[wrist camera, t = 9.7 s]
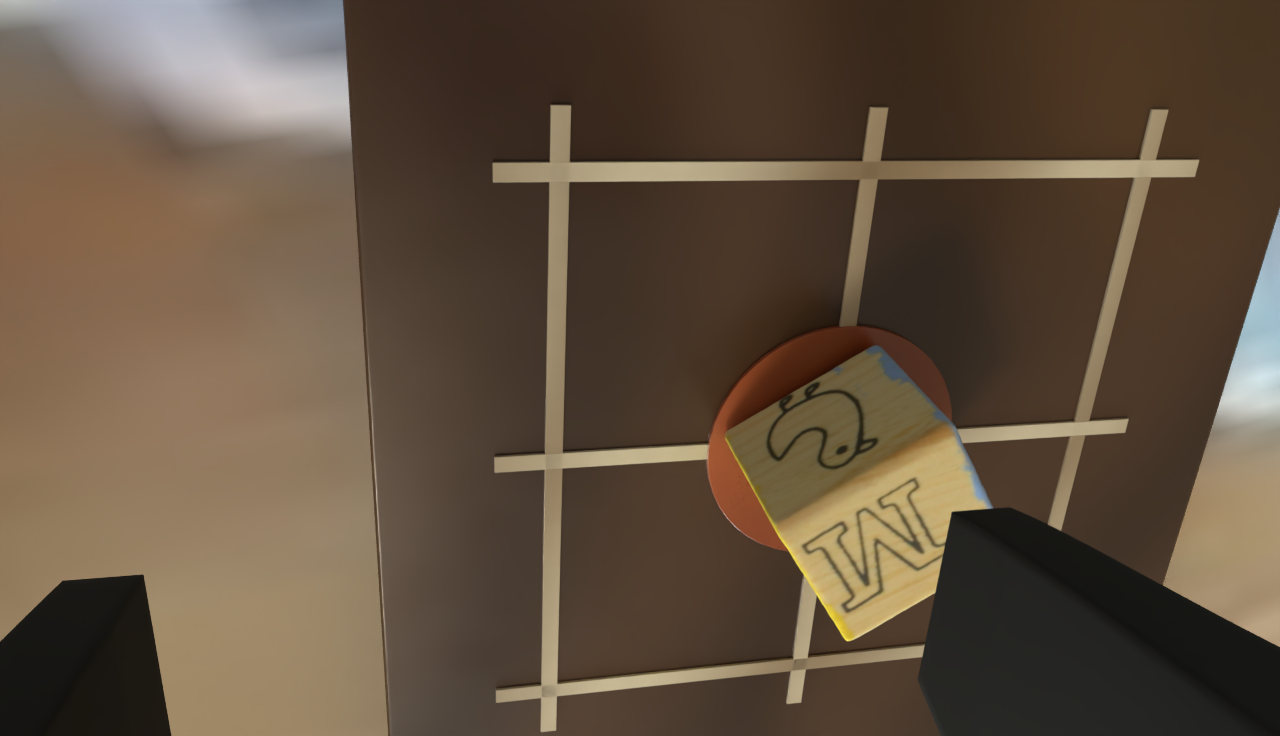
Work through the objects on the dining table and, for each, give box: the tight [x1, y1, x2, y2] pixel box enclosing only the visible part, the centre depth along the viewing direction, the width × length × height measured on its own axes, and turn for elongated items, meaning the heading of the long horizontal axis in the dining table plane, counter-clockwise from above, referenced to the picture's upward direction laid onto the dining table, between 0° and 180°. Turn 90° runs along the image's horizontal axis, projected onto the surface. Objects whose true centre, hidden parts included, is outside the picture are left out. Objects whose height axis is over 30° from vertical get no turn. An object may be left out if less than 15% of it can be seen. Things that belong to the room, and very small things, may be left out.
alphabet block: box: [725, 345, 993, 641], centre depth 18 cm, size 3×3×3 cm
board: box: [343, 0, 1280, 736], centre depth 20 cm, size 16×20×1 cm
